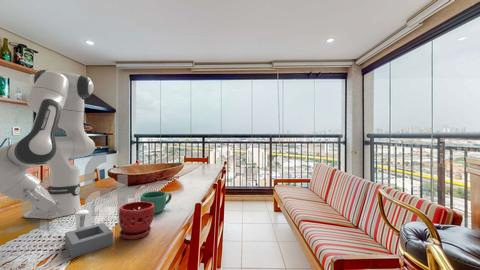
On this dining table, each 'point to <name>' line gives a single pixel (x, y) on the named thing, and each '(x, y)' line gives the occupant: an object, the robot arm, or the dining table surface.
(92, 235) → the socket collar
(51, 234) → the dining table surface
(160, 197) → the mug
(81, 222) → the milkshake
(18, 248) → the dining table surface
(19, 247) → the dining table surface
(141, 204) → the plant pot
